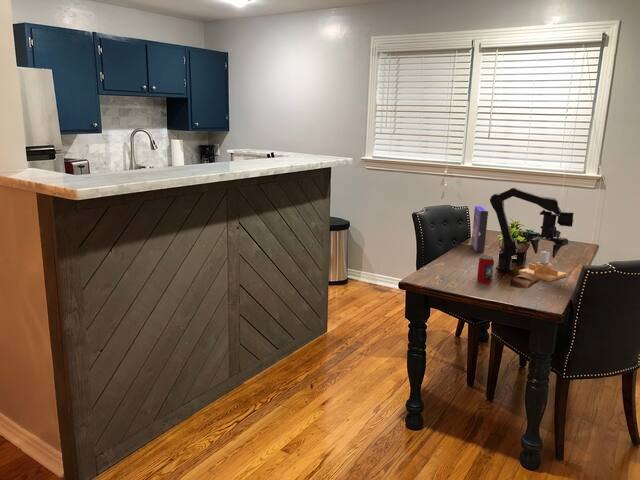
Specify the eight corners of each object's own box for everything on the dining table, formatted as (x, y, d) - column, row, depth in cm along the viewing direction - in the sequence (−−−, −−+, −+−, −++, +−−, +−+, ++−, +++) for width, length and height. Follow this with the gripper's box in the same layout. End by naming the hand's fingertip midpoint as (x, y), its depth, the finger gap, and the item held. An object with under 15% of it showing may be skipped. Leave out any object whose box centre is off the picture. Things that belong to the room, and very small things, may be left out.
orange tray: (549, 281, 244) (550, 269, 242) (518, 273, 256) (520, 261, 255) (566, 276, 253) (568, 264, 252) (536, 268, 266) (537, 257, 264)
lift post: (544, 273, 252) (546, 253, 250) (537, 271, 255) (540, 251, 252) (547, 272, 254) (550, 252, 252) (541, 270, 257) (544, 251, 254)
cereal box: (471, 244, 315) (474, 205, 309) (479, 245, 314) (483, 206, 309) (475, 251, 298) (479, 210, 292) (484, 252, 297) (488, 211, 292)
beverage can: (489, 285, 235) (492, 260, 232) (475, 282, 238) (477, 257, 236) (493, 281, 241) (496, 256, 238) (479, 279, 244) (481, 254, 241)
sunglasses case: (528, 288, 231) (522, 275, 232) (513, 293, 236) (507, 279, 236) (540, 280, 245) (534, 267, 246) (526, 284, 249) (520, 272, 250)
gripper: (576, 226, 247) (571, 257, 250) (540, 219, 261) (536, 249, 265) (564, 228, 240) (559, 260, 243) (527, 221, 254) (523, 252, 258)
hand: (544, 255), depth 253 cm, fingers open, 9 cm apart
